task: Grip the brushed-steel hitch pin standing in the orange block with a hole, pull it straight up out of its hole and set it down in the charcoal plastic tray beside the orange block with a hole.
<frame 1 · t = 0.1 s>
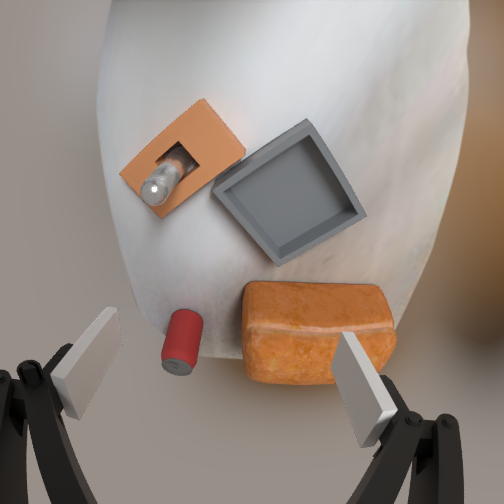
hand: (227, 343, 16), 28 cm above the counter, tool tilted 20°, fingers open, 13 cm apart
beer can: (188, 318, 56), on the counter
tray: (290, 190, 40), on the counter
orange block with hole: (182, 157, 37), on the counter
hitch pin: (168, 173, 32), in the orange block with hole
bread: (311, 305, 53), on the counter
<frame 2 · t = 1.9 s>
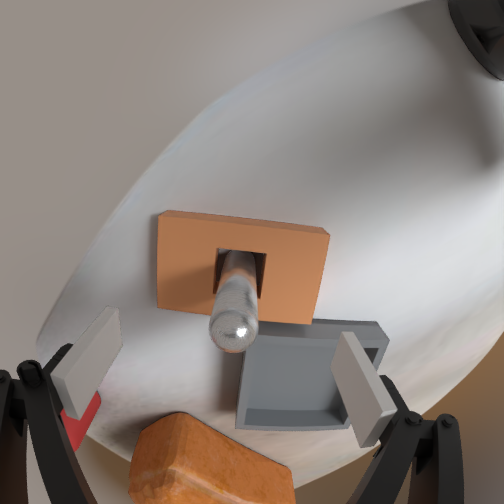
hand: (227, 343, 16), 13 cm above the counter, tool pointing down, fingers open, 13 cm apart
beer can: (84, 390, 35), on the counter
tray: (303, 370, 32), on the counter
orange block with hole: (239, 263, 28), on the counter
hitch pin: (237, 292, 22), in the orange block with hole
bread: (219, 455, 39), on the counter
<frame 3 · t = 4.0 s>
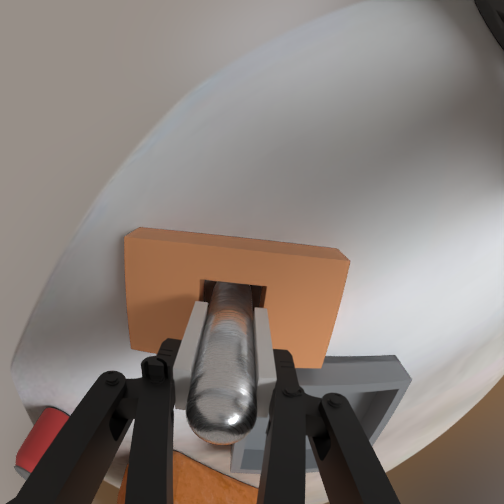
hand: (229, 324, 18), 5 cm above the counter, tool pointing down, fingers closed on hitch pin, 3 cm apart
beer can: (64, 420, 28), on the counter
tray: (308, 410, 26), on the counter
orange block with hole: (232, 293, 22), on the counter
hitch pin: (227, 343, 16), in the orange block with hole, touching gripper
bread: (213, 488, 32), on the counter
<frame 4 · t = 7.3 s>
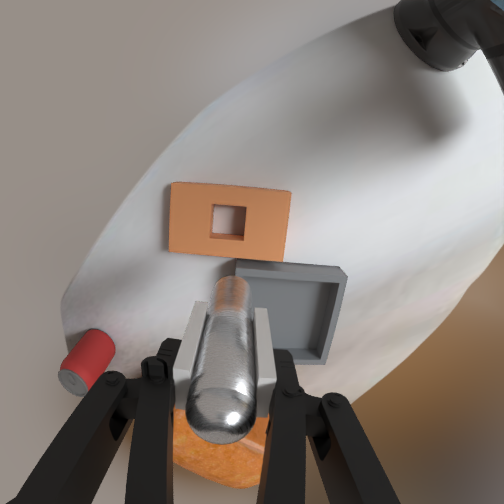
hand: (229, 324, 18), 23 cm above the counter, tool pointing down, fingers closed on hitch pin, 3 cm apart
beer can: (101, 342, 45), on the counter
tray: (282, 309, 43), on the counter
orange block with hole: (229, 218, 39), on the counter
hitch pin: (227, 343, 16), point 25 cm above the counter, touching gripper
bread: (215, 404, 49), on the counter
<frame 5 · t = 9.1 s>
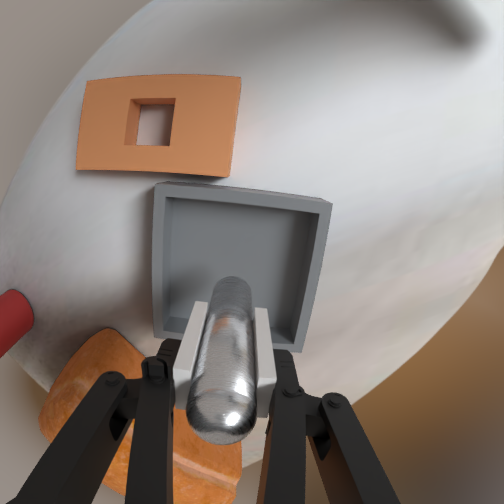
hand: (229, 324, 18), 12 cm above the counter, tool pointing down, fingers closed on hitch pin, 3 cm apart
beer can: (21, 307, 31), on the counter
tray: (235, 263, 29), on the counter
orange block with hole: (158, 125, 25), on the counter
hitch pin: (227, 344, 16), point 14 cm above the counter, touching gripper
bread: (155, 402, 35), on the counter
when the fingers open (7 cm above the counter, at t = 10.7 s): hitch pin drops 1 cm, resting on tray.
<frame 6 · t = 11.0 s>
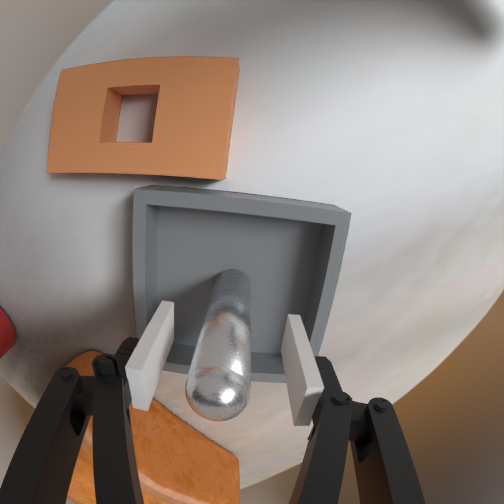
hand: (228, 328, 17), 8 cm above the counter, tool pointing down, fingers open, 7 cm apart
beer can: (2, 322, 26), on the counter
tray: (233, 281, 24), on the counter
orange block with hole: (141, 119, 20), on the counter
hitch pin: (226, 330, 17), in the tray, point 8 cm above the counter
bread: (147, 425, 31), on the counter
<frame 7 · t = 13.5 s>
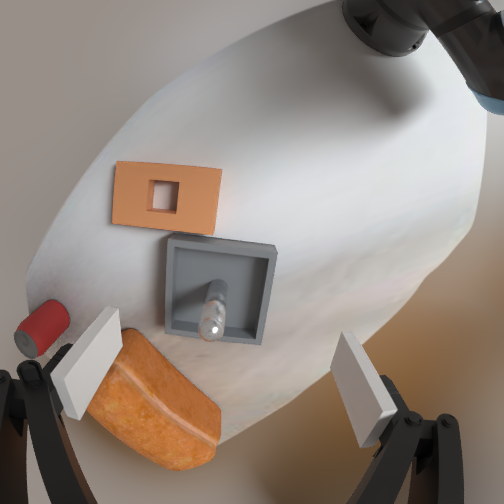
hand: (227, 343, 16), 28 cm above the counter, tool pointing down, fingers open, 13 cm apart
beer can: (58, 313, 45), on the counter
tray: (218, 285, 44), on the counter
orange block with hole: (167, 194, 40), on the counter
hitch pin: (214, 308, 37), in the tray, point 8 cm above the counter
bread: (159, 383, 50), on the counter
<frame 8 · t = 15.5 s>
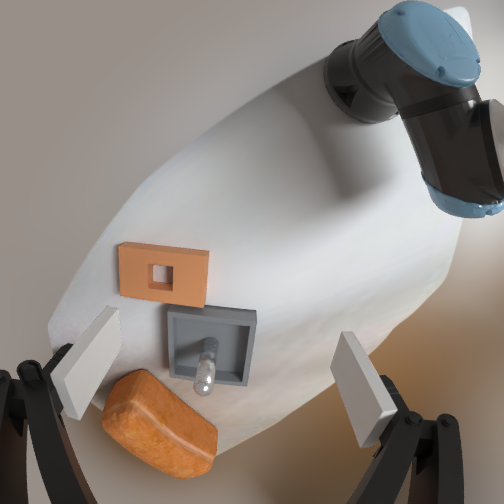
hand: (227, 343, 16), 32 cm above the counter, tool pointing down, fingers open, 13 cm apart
tray: (211, 340, 52), on the counter
orange block with hole: (164, 271, 48), on the counter
hitch pin: (206, 365, 45), in the tray, point 8 cm above the counter
bread: (167, 409, 58), on the counter
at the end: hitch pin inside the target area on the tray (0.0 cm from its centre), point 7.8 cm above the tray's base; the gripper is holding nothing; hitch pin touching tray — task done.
